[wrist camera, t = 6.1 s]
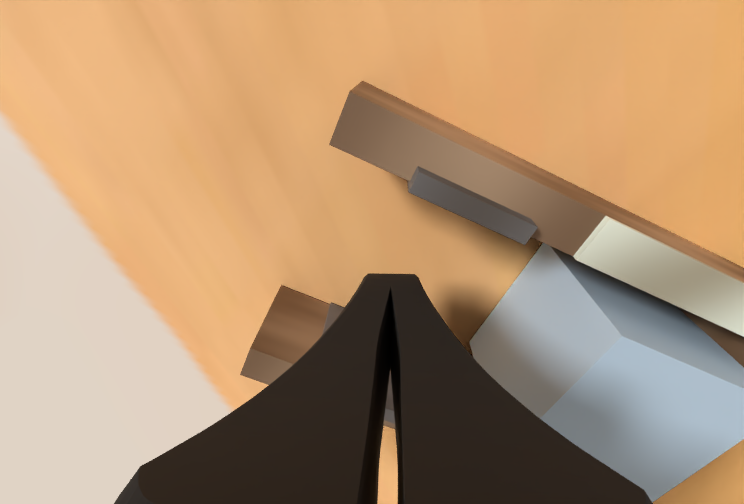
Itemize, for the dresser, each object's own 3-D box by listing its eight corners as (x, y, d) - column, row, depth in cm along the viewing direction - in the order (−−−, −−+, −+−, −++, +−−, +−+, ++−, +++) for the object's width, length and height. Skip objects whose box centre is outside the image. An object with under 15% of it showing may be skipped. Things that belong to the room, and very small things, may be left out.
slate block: (662, 294, 14) (788, 407, 9) (573, 383, 16) (641, 510, 12) (545, 240, 13) (621, 335, 9) (469, 341, 15) (499, 459, 11)
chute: (740, 266, 13) (867, 345, 10) (573, 423, 17) (619, 520, 14) (362, 80, 11) (347, 93, 8) (271, 308, 15) (234, 387, 12)
